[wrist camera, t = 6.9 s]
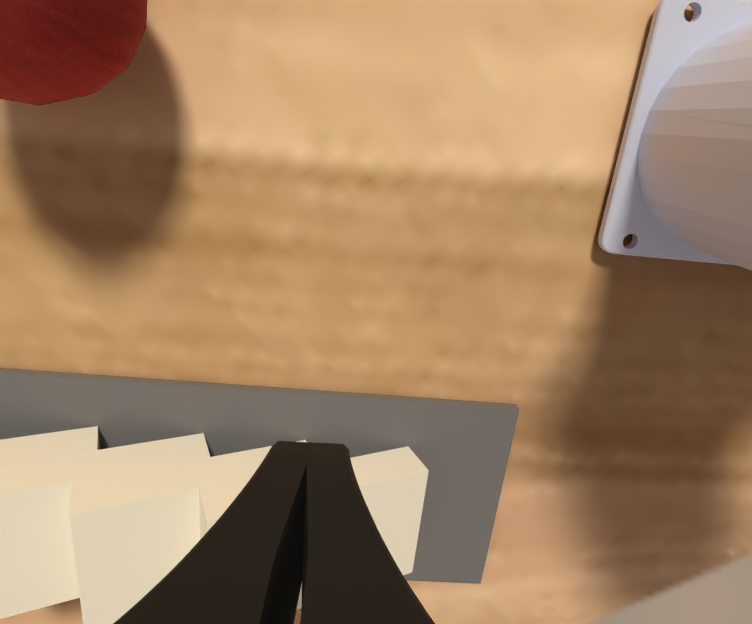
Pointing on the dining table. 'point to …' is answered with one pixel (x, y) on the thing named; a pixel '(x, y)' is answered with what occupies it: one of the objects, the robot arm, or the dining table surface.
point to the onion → (65, 46)
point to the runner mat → (297, 439)
